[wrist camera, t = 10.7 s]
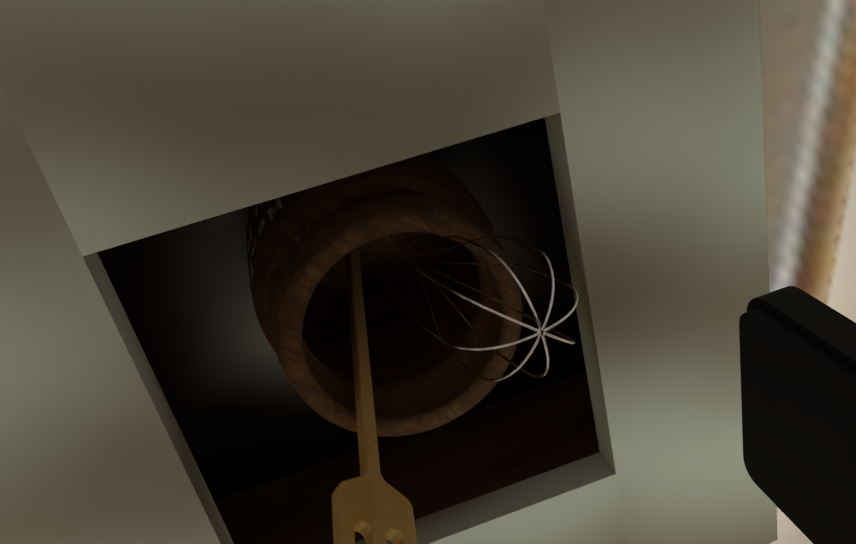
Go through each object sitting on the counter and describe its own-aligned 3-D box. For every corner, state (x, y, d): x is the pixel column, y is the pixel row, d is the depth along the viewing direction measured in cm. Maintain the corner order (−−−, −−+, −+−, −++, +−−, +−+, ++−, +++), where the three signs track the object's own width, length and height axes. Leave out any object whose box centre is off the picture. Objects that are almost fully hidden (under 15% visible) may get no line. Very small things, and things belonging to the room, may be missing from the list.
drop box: (-102, 29, 17) (-349, 80, 10) (552, -138, 19) (753, -199, 12) (165, 540, 24) (138, 793, 16) (623, 378, 26) (777, 539, 18)
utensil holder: (487, 172, 22) (753, 370, 11) (392, 354, 23) (542, 691, 12) (299, 81, 19) (397, 215, 8) (206, 289, 21) (189, 631, 10)
